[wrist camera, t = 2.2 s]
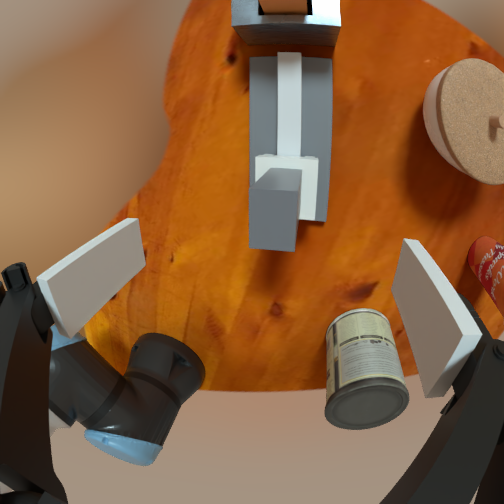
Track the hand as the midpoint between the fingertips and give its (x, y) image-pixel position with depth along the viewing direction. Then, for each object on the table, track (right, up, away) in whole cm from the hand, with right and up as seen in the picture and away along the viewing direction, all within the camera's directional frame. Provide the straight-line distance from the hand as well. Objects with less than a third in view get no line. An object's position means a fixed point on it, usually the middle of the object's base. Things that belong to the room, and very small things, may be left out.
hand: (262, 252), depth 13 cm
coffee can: (+16, -12, +26) cm, 33 cm away
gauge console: (+4, +27, +10) cm, 29 cm away
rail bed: (+4, +13, +16) cm, 21 cm away
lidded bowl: (+24, +16, +11) cm, 31 cm away
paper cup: (+32, 0, +16) cm, 36 cm away
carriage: (+4, +8, +17) cm, 19 cm away
